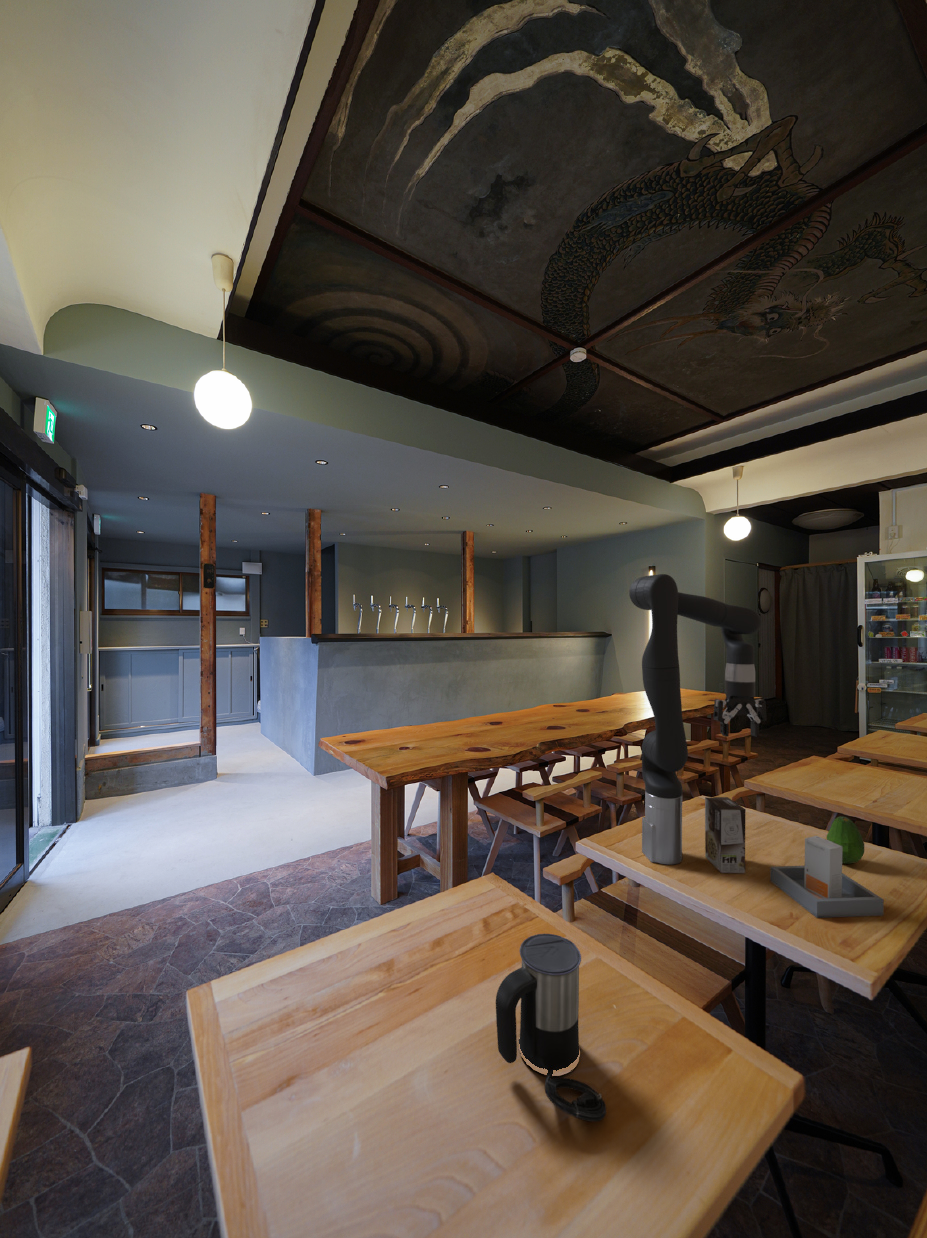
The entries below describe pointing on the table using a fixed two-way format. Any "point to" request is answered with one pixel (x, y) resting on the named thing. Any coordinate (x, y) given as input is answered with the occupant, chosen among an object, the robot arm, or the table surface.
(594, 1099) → the milk frother
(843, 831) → the avocado
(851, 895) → the shallow gray box
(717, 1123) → the table surface
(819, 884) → the skincare box
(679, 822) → the robot arm
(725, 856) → the coffee box
